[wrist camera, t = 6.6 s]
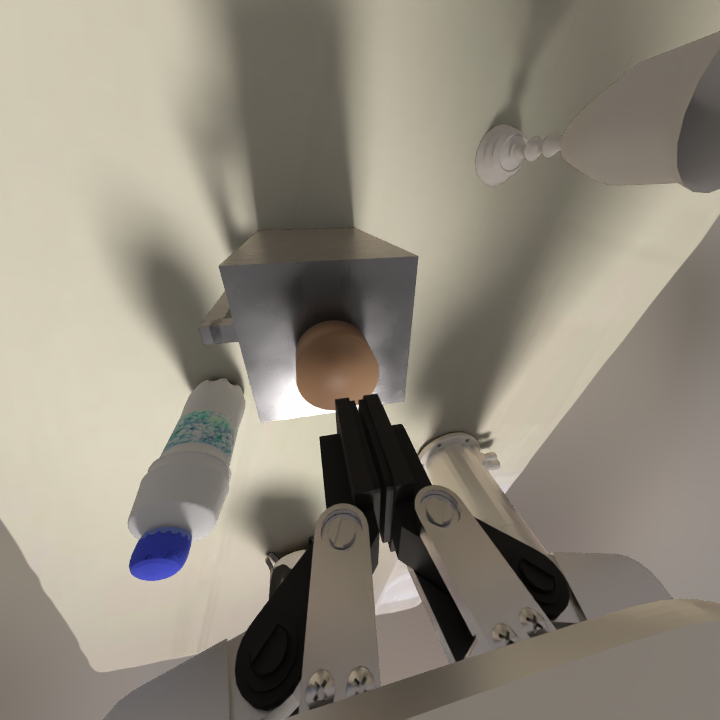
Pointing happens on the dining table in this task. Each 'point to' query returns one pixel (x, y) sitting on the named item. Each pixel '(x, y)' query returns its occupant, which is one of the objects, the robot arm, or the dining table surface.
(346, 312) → the grey peg holder block
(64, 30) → the dining table surface
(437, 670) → the robot arm
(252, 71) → the dining table surface
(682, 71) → the chalice
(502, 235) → the dining table surface
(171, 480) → the bottle
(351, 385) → the plunger
